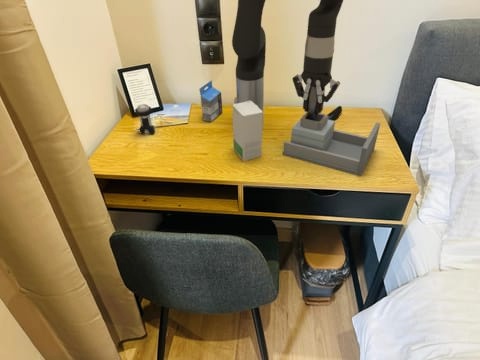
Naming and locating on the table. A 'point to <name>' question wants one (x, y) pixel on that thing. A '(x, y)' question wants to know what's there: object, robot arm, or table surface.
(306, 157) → the bay
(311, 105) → the handle peg
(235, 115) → the skincare box
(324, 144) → the square socket block
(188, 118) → the table surface
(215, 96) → the label tape cartridge
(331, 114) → the electric trimmer
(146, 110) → the grey black upright piece
